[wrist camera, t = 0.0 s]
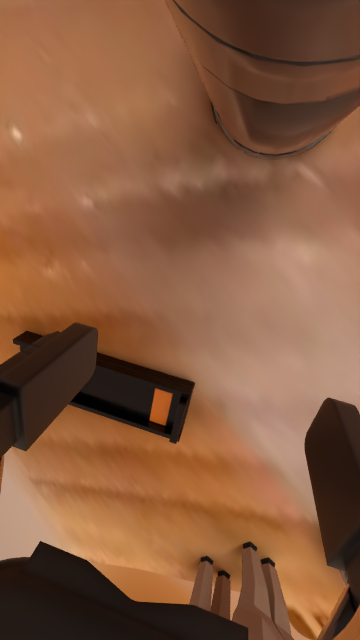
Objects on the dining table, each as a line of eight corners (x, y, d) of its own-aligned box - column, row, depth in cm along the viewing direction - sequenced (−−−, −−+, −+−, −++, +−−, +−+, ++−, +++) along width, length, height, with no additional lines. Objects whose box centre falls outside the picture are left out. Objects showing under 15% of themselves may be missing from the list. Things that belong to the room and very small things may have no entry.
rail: (26, 330, 34) (5, 343, 31) (195, 382, 31) (189, 401, 28) (29, 376, 37) (10, 392, 34) (183, 427, 34) (176, 449, 31)
